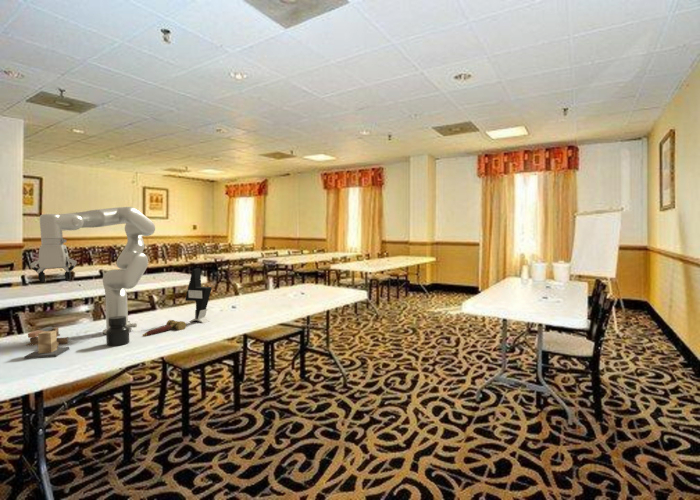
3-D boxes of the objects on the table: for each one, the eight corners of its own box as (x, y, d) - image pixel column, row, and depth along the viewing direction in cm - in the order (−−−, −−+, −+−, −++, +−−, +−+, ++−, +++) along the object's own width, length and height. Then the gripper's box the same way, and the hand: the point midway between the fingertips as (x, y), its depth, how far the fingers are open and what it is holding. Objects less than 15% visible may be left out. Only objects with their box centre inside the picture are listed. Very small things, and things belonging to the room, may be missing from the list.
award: (185, 321, 222) (184, 268, 221) (192, 319, 227) (191, 268, 226) (206, 323, 216) (205, 269, 216) (212, 321, 221) (211, 268, 220)
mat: (69, 349, 168) (69, 346, 168) (55, 356, 157) (55, 354, 157) (40, 351, 165) (39, 348, 165) (24, 358, 155) (24, 356, 155)
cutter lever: (53, 329, 189) (53, 325, 189) (35, 337, 174) (35, 333, 174) (46, 329, 188) (46, 326, 188) (28, 337, 174) (28, 333, 174)
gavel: (148, 331, 186) (135, 329, 190) (149, 341, 186) (136, 338, 191) (185, 320, 204) (173, 318, 209) (186, 329, 204) (173, 327, 209)
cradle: (67, 342, 178) (67, 337, 178) (56, 348, 169) (56, 342, 169) (50, 343, 177) (50, 338, 177) (38, 349, 168) (38, 343, 167)
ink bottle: (132, 340, 181) (131, 314, 181) (128, 345, 173) (127, 318, 173) (108, 342, 178) (107, 316, 178) (103, 347, 170) (102, 320, 170)
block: (56, 349, 164) (56, 330, 164) (51, 352, 159) (50, 333, 159) (44, 350, 163) (43, 331, 163) (38, 353, 158) (37, 333, 158)
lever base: (59, 335, 193) (59, 327, 193) (39, 344, 175) (38, 336, 175) (48, 335, 192) (48, 327, 192) (26, 345, 174) (26, 336, 174)
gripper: (78, 241, 176) (81, 279, 177) (33, 242, 172) (36, 281, 173) (71, 242, 169) (74, 281, 170) (24, 243, 164) (27, 283, 166)
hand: (55, 281), depth 171 cm, fingers open, 9 cm apart
